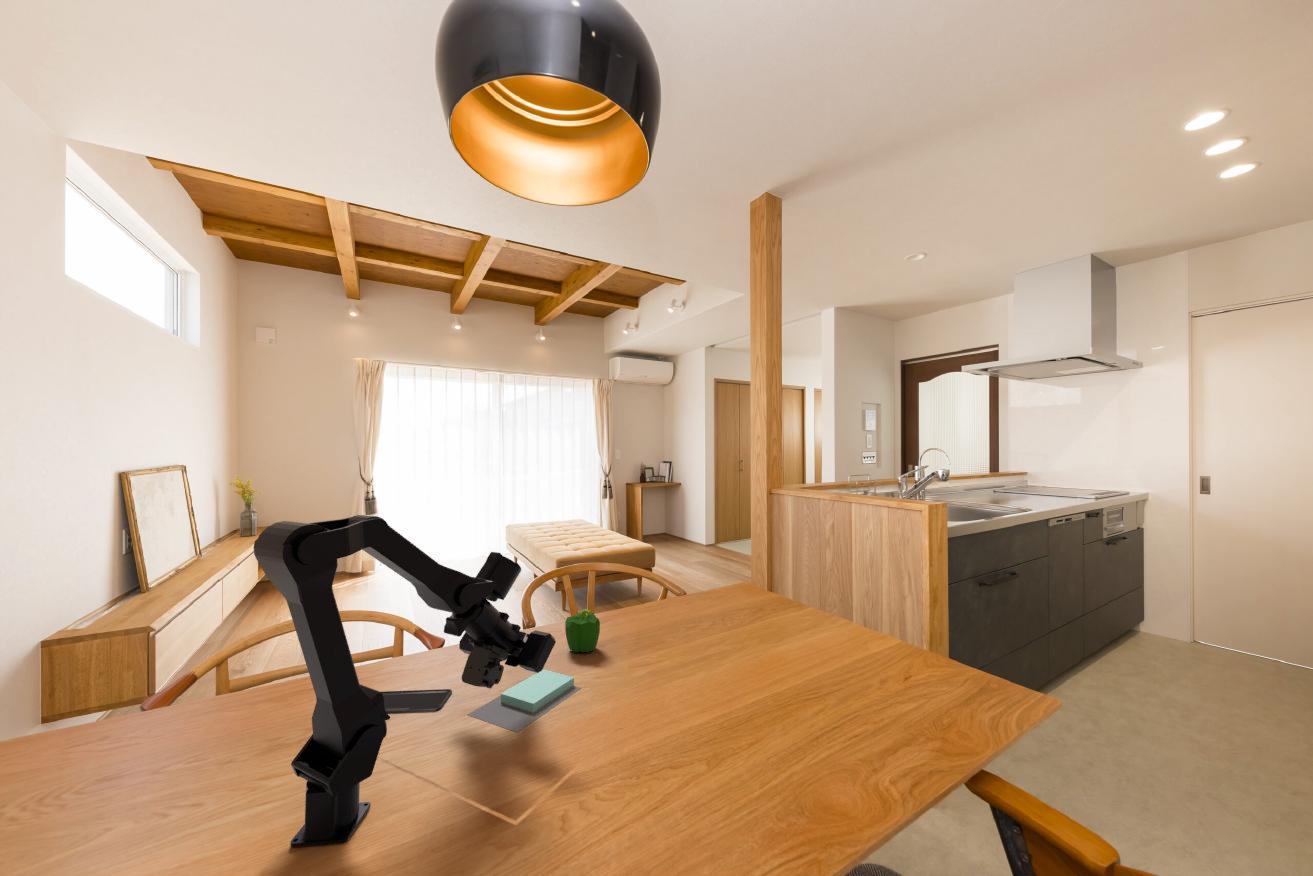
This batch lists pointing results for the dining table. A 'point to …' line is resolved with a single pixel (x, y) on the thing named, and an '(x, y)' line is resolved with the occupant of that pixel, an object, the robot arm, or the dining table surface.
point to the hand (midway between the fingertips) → (528, 664)
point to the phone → (415, 700)
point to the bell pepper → (582, 631)
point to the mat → (515, 712)
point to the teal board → (537, 690)
